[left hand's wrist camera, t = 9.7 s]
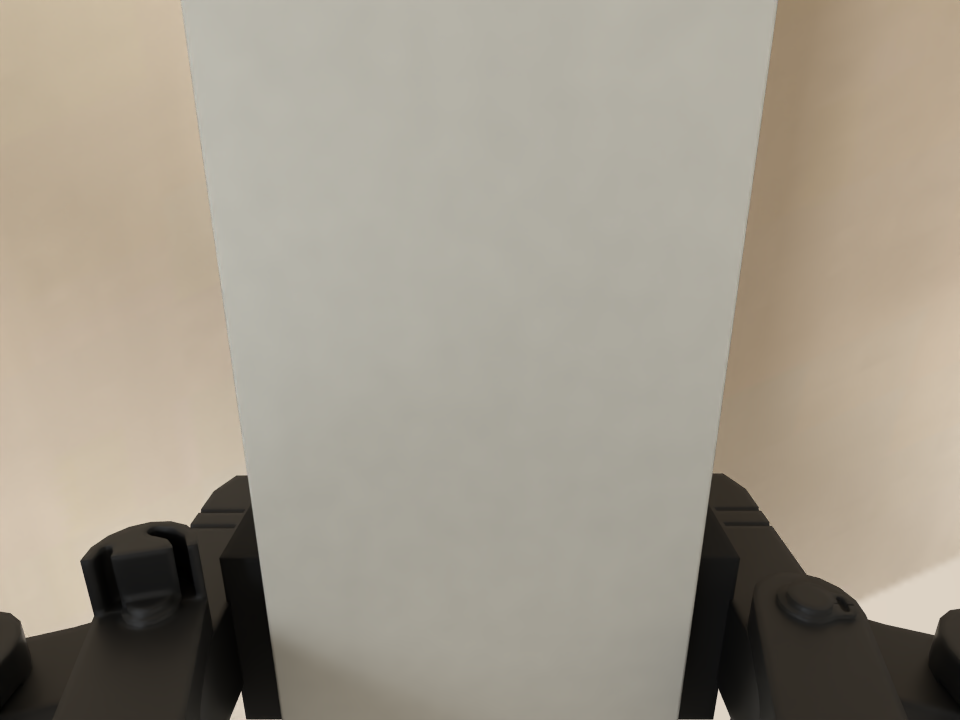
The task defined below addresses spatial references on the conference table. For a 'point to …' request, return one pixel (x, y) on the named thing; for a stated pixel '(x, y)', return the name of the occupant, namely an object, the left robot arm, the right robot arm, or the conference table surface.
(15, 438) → the conference table surface
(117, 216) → the conference table surface
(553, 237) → the bar
